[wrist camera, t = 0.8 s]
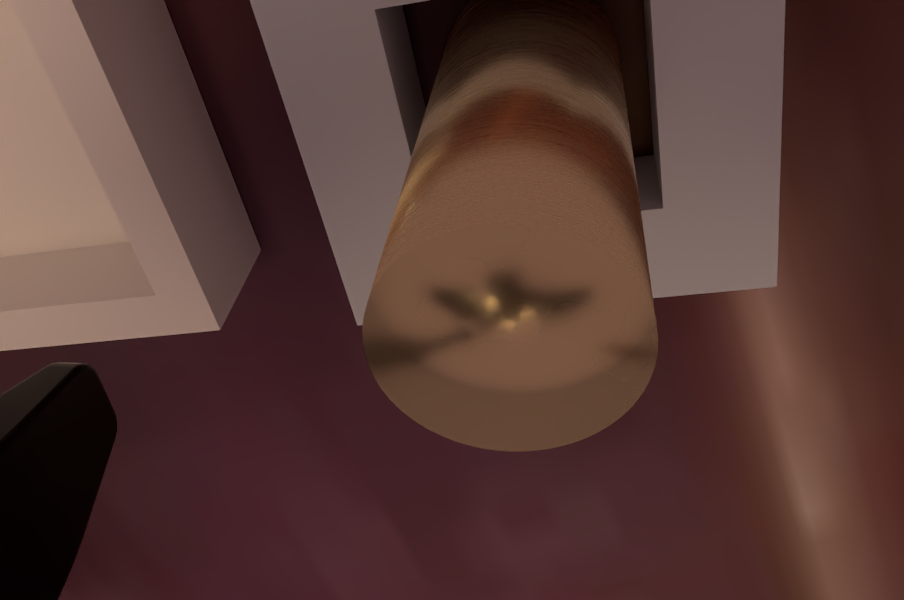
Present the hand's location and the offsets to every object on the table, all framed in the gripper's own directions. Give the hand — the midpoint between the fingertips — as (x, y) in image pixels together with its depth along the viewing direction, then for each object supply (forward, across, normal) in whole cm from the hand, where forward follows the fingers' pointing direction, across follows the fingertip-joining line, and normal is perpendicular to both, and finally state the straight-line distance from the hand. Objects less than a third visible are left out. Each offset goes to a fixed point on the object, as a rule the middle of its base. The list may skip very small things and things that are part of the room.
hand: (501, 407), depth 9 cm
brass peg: (+12, 0, +2) cm, 13 cm away
